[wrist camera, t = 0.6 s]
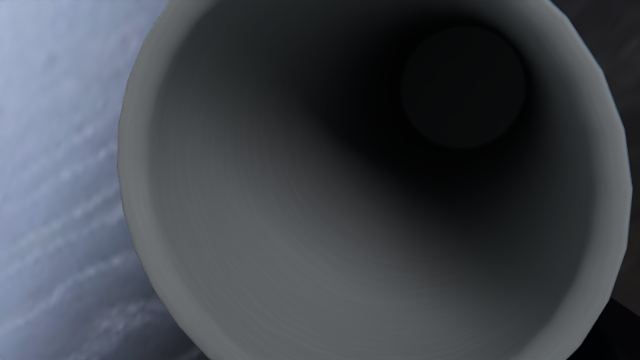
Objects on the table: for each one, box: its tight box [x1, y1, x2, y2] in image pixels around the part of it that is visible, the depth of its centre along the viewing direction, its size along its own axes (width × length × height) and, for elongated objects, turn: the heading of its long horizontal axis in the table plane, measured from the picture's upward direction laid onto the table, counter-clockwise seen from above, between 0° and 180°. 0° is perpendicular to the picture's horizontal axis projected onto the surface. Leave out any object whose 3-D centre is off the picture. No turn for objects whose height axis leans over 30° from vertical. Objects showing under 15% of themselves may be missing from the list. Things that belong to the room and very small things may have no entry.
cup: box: [117, 0, 633, 360], centre depth 14 cm, size 7×7×15 cm
